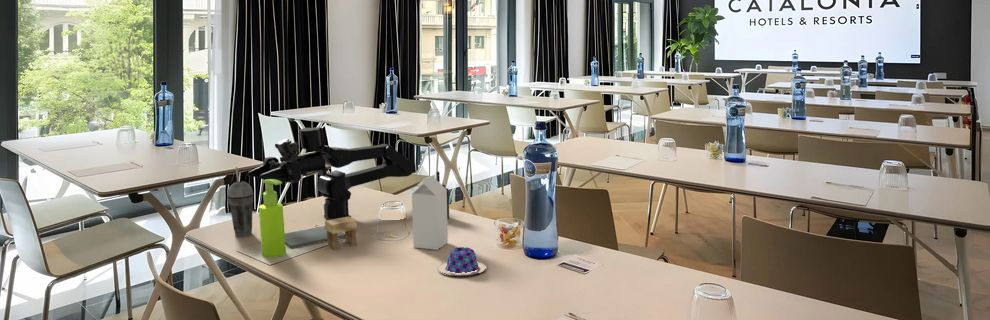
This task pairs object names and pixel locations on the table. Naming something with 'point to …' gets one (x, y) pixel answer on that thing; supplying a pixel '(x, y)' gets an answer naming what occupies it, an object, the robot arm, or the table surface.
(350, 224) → the oak stool
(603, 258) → the table surface
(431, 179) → the milk carton
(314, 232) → the grey rectangular board
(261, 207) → the soap dispenser
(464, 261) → the pudding
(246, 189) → the beverage cup
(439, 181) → the walkie-talkie
